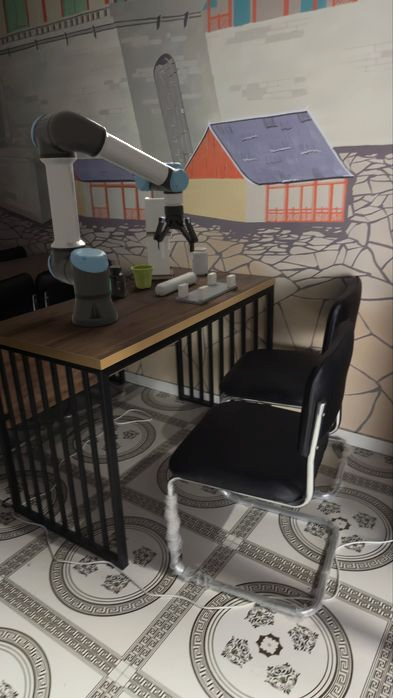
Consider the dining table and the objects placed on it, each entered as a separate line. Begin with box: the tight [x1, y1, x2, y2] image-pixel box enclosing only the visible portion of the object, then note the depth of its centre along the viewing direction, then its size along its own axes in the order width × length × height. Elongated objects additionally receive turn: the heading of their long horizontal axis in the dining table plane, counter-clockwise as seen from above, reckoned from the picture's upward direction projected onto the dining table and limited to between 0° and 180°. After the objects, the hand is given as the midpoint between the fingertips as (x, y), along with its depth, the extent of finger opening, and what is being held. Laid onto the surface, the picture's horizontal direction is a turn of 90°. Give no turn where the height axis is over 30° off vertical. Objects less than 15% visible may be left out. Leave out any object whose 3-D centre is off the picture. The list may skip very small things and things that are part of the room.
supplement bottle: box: [108, 264, 127, 299], centre depth 195 cm, size 7×7×12 cm
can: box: [191, 247, 209, 276], centre depth 230 cm, size 8×8×12 cm
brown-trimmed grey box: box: [144, 196, 174, 280], centre depth 223 cm, size 11×11×35 cm
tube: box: [154, 271, 198, 297], centre depth 205 cm, size 5×5×25 cm
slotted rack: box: [175, 272, 239, 305], centre depth 197 cm, size 11×30×6 cm, turn 148°
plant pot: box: [130, 264, 154, 290], centre depth 209 cm, size 9×9×9 cm
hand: (176, 259), depth 201 cm, fingers open, 13 cm apart
